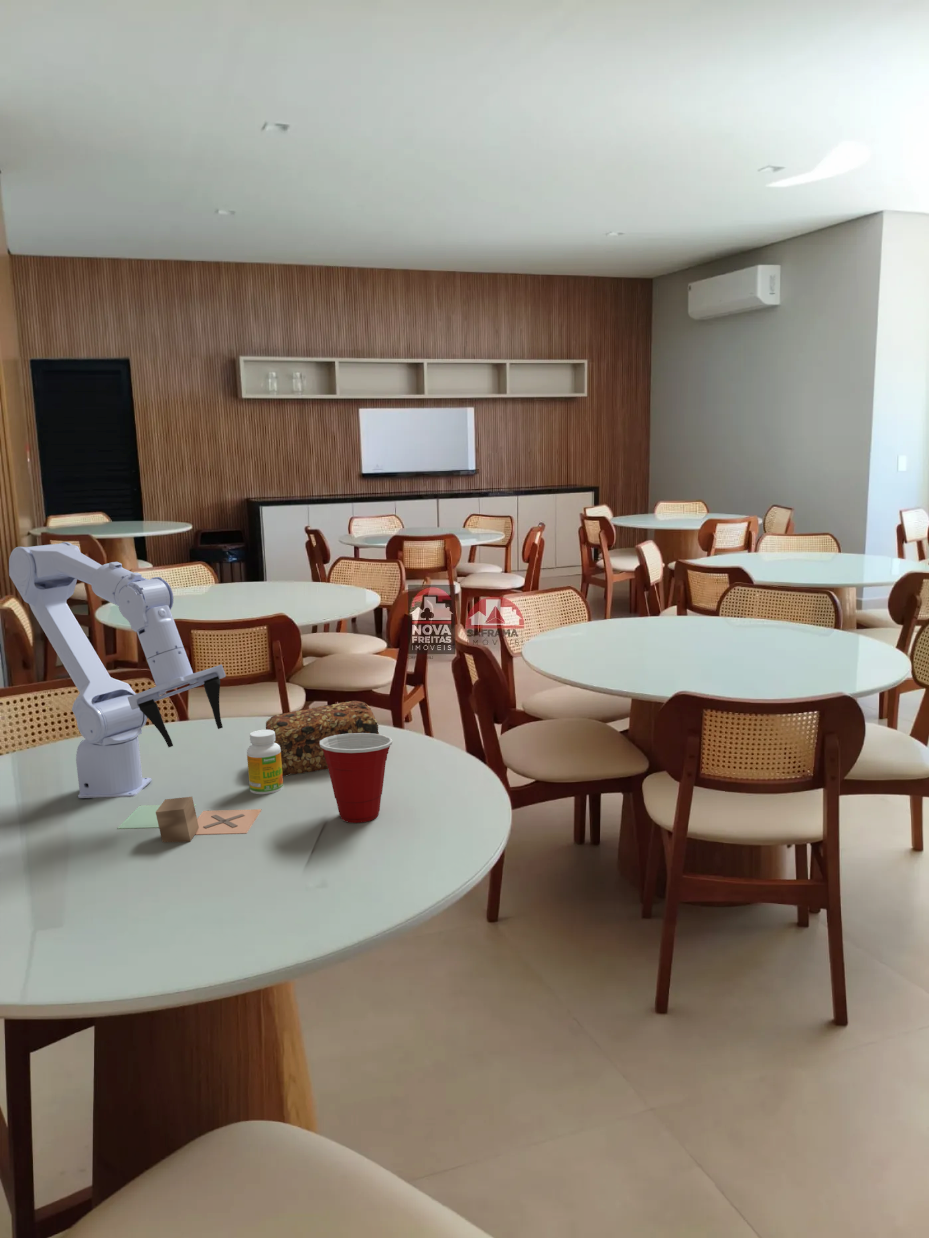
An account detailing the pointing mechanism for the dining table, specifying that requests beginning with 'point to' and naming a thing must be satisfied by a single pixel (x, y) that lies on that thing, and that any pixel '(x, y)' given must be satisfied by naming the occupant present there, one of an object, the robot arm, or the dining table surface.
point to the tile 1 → (142, 818)
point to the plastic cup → (357, 773)
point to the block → (177, 820)
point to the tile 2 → (226, 821)
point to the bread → (317, 732)
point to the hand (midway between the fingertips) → (195, 737)
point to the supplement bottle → (264, 763)
